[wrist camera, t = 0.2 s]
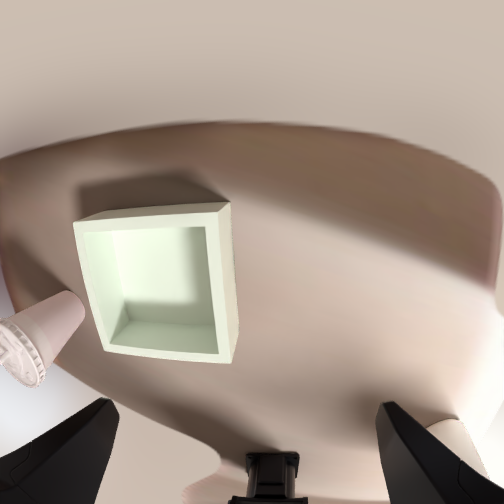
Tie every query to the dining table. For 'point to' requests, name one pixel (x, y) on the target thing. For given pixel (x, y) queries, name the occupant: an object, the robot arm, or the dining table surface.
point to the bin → (162, 280)
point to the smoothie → (38, 336)
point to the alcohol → (458, 442)
